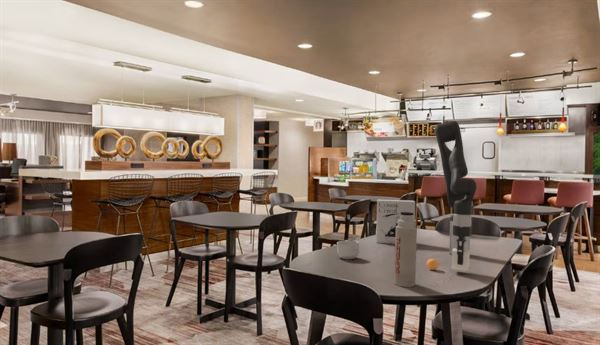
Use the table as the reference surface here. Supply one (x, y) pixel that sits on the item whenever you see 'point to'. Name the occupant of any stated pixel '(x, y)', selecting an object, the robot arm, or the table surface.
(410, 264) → the thermos bottle
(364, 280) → the table surface
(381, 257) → the table surface
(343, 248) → the teacup
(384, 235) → the cereal box
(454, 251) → the cream colored box
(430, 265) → the ball
